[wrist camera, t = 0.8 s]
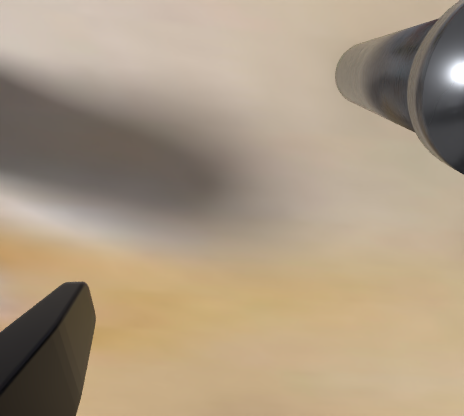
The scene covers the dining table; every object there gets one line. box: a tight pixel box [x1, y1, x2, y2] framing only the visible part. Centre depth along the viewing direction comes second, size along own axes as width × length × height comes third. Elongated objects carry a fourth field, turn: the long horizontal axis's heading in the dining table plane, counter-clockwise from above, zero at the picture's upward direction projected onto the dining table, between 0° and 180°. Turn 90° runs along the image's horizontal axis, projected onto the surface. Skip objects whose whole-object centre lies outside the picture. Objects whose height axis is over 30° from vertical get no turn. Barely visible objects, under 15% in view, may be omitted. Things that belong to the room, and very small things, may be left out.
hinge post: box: [335, 0, 464, 174], centre depth 14 cm, size 4×4×15 cm
